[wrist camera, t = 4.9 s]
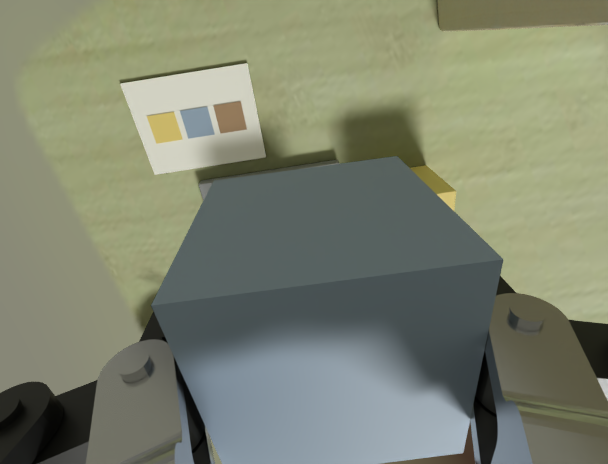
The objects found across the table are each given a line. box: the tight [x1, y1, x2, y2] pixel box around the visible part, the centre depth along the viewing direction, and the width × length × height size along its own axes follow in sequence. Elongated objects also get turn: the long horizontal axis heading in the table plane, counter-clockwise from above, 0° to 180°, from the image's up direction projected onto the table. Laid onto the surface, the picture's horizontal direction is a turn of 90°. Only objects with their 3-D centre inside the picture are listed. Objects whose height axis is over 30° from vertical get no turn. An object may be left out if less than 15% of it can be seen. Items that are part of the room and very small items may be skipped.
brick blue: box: [151, 156, 503, 464], centre depth 8 cm, size 5×5×5 cm
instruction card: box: [121, 63, 266, 175], centre depth 22 cm, size 8×6×1 cm
